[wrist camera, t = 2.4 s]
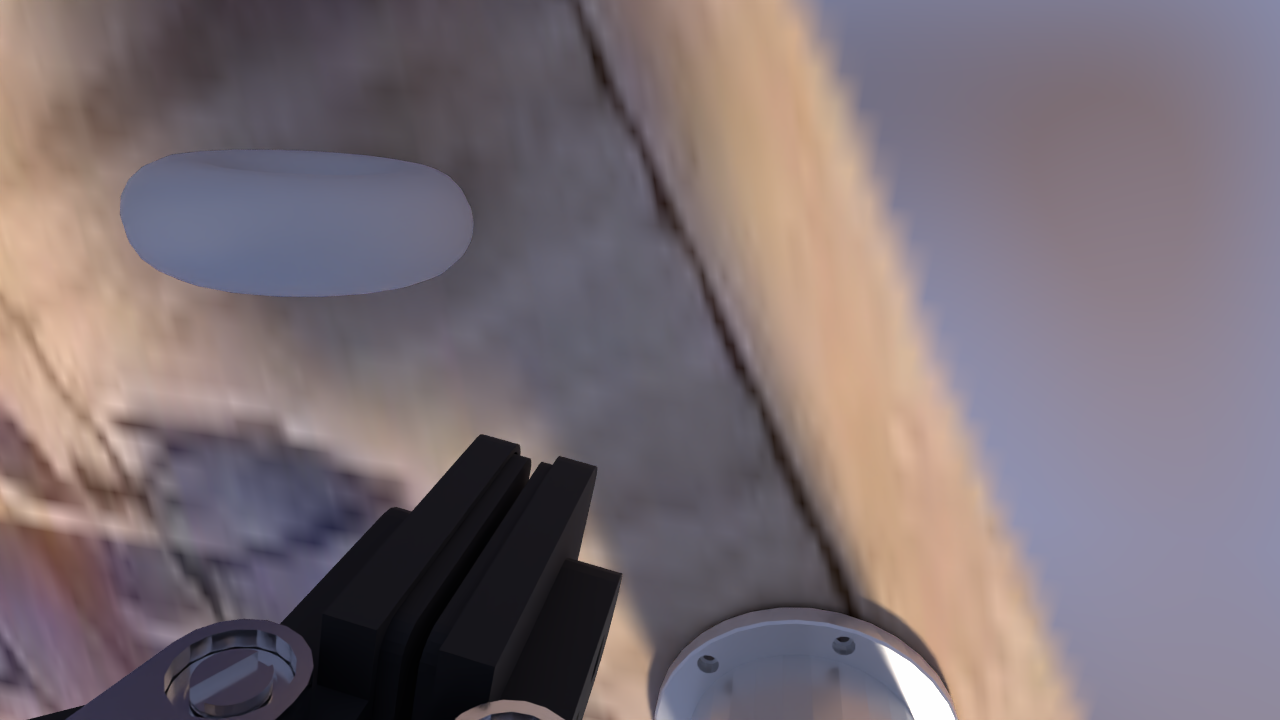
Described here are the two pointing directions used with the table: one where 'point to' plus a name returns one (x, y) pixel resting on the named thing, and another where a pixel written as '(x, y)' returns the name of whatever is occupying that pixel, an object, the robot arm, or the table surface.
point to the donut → (295, 221)
